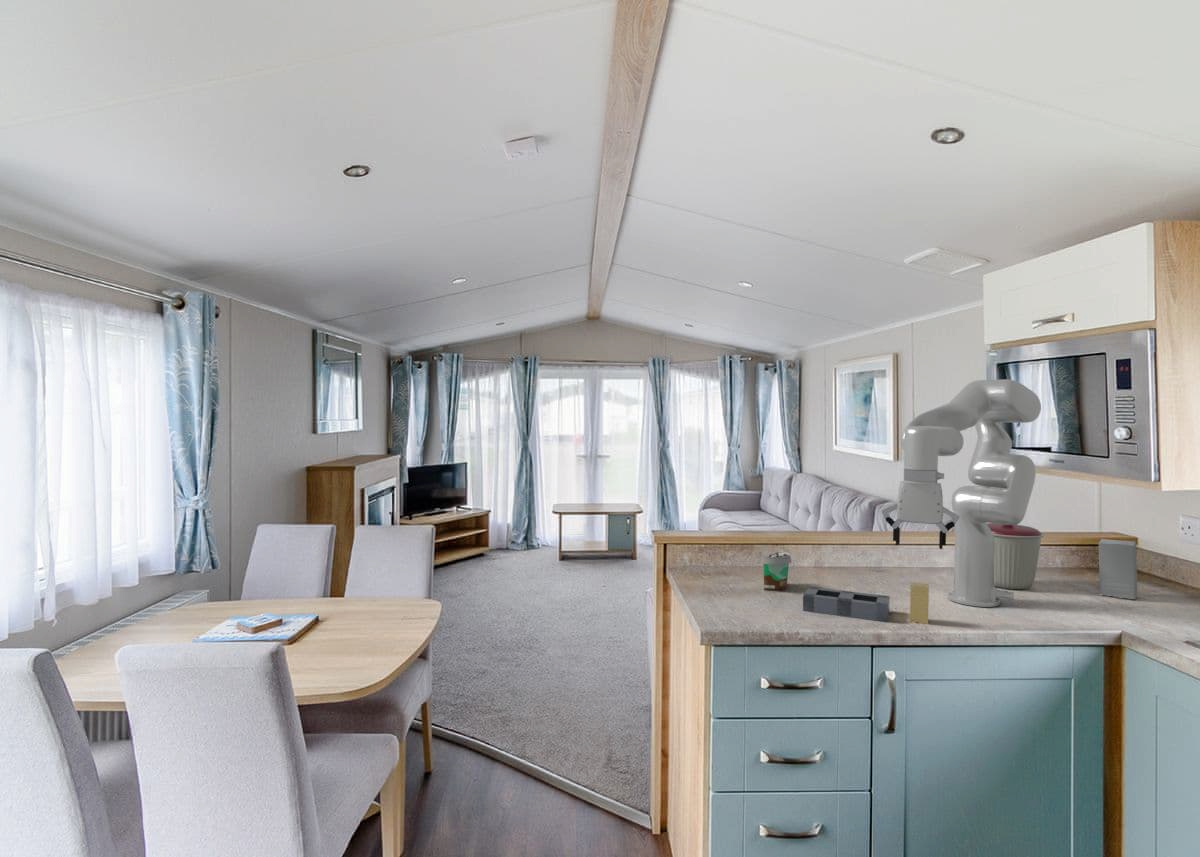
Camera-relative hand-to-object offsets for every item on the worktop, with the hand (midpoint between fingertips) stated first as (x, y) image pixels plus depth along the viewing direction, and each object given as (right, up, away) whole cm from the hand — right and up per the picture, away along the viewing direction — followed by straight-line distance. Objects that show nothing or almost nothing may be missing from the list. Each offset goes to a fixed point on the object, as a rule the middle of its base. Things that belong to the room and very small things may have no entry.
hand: (918, 546), depth 163 cm
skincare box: (+69, -19, +25) cm, 75 cm away
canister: (+44, -19, +36) cm, 60 cm away
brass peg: (0, -19, 0) cm, 19 cm away
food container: (-26, -18, +30) cm, 44 cm away
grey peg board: (-15, -18, +8) cm, 25 cm away
